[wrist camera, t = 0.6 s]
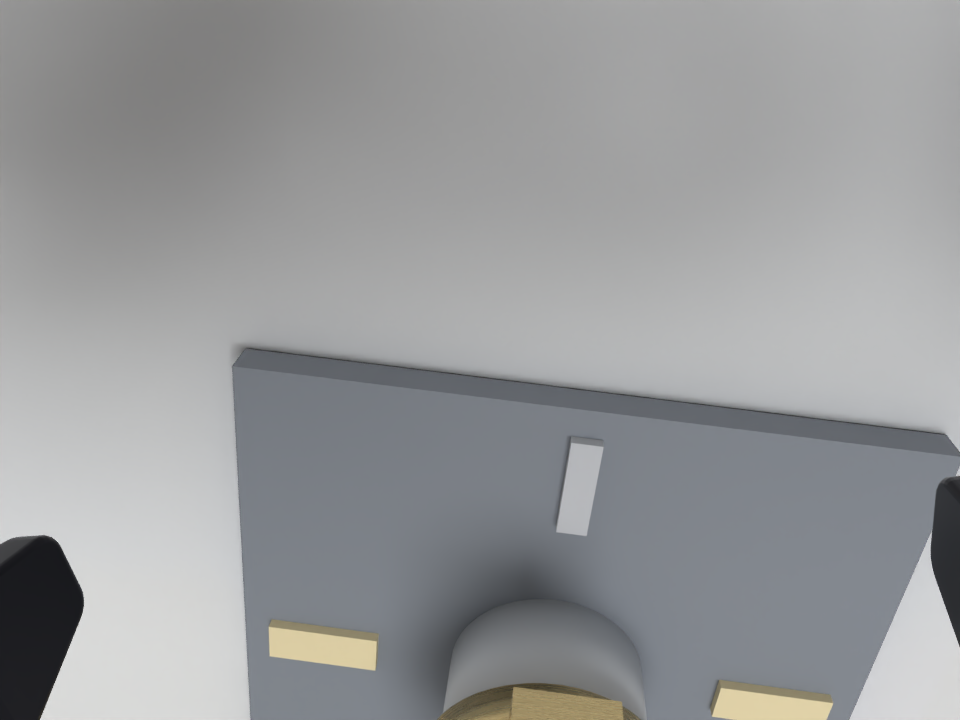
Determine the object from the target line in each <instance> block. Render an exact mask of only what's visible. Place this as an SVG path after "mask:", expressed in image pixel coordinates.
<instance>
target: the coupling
mask: <svg viewBox="0 0 960 720" xmlns="http://www.w3.org/2000/svg"><path fill="white" fill-rule="evenodd" d="M437 720H641V719H640V718H639V717H638V716H636V715H635V714H634V713H632V712H631V711H629V710H628V709H626V708H625V707H623V706H622V702H621V701H614V700H610V699H608V698H606V697H603V696H601V695H598V694H596V693H593V692H590V691H586V690H583V689H579V688H575V687H570V686H564V685H558V684H547V683H522V684H512V685H505V686H500V687H495V688H491V689H488V690H485V691H482V692H478V693H476V694H474V695H471V696H469V697H467V698H465V699H463V700H461V701H459V702H458V703H456V704H454V705H453V706H451V707H450V708H449V709H448V710H446V711H445V712H444V713H443V714H442V715H441V716H440V717H439V718H438V719H437Z"/></svg>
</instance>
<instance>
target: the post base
mask: <svg viewBox="0 0 960 720" xmlns="http://www.w3.org/2000/svg"><path fill="white" fill-rule="evenodd" d="M232 372H233V391H234V410H235V429H236V448H237V467H238V487H239V506H240V525H241V544H242V563H243V582H244V602H245V621H246V640H247V659H248V678H249V697H250V716H251V720H437V719H438V718H439V717H440V716H441V715H442V714H443V713H444V712H445V711H446V710H448V709H449V708H450V707H451V706H453V705H454V704H456V703H458V702H459V701H461V700H463V699H465V698H467V697H469V696H471V695H474V694H476V693H478V692H482V691H485V690H488V689H491V688H495V687H500V686H505V685H512V684H522V683H547V684H558V685H564V686H570V687H575V688H579V689H583V690H586V691H590V692H593V693H596V694H598V695H601V696H603V697H606V698H608V699H610V700H614V701H621V702H622V706H623V707H625V708H626V709H628V710H629V711H631V712H632V713H634V714H635V715H636V716H638V717H639V718H640V719H641V720H849V719H850V717H851V714H852V712H853V710H854V707H855V705H856V703H857V701H858V698H859V696H860V694H861V691H862V689H863V687H864V684H865V682H866V680H867V678H868V675H869V673H870V671H871V668H872V666H873V664H874V661H875V659H876V657H877V655H878V652H879V650H880V648H881V645H882V643H883V641H884V639H885V636H886V634H887V632H888V629H889V627H890V625H891V622H892V620H893V618H894V616H895V613H896V611H897V609H898V606H899V604H900V602H901V600H902V597H903V595H904V593H905V590H906V588H907V586H908V583H909V581H910V579H911V577H912V574H913V572H914V570H915V567H916V565H917V563H918V561H919V558H920V556H921V554H922V551H923V549H924V547H925V544H926V542H927V540H928V538H929V535H930V533H931V531H932V528H933V517H934V507H935V496H936V489H937V487H938V484H939V482H940V481H941V480H943V479H944V478H945V477H953V476H956V473H957V471H958V469H959V466H960V452H959V451H958V449H957V448H956V447H955V445H954V444H953V443H952V442H951V440H950V439H949V438H948V436H947V435H942V434H934V433H926V432H918V431H910V430H902V429H893V428H885V427H877V426H869V425H861V424H853V423H845V422H837V421H829V420H821V419H812V418H804V417H796V416H788V415H780V414H772V413H764V412H756V411H748V410H740V409H732V408H723V407H715V406H707V405H699V404H691V403H683V402H675V401H667V400H659V399H651V398H642V397H634V396H626V395H618V394H610V393H602V392H594V391H586V390H578V389H570V388H561V387H553V386H545V385H537V384H529V383H521V382H513V381H505V380H497V379H489V378H481V377H472V376H464V375H456V374H448V373H440V372H432V371H424V370H416V369H408V368H400V367H391V366H383V365H375V364H367V363H359V362H351V361H343V360H335V359H327V358H319V357H311V356H302V355H294V354H286V353H278V352H270V351H262V350H254V349H245V350H244V351H243V353H242V354H241V355H240V357H239V358H238V359H237V361H236V362H235V363H234V365H233V366H232Z"/></svg>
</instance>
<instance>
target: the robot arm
mask: <svg viewBox="0 0 960 720" xmlns="http://www.w3.org/2000/svg"><path fill="white" fill-rule="evenodd" d="M931 561H932V567H933V571H934V575H935V578H936V581H937V584H938V587H939V590H940V592H941V595H942V598H943V601H944V604H945V606H946V609H947V612H948V615H949V618H950V621H951V623H952V626H953V629H954V632H955V635H956V638H957V640H958V643H959V646H960V476H953V477H945V478H944V479H943V480H941V481H940V482H939V484H938V487H937V489H936V496H935V507H934V517H933V528H932V539H931ZM83 607H84V597H83V592H82V589H81V587H80V585H79V583H78V581H77V579H76V577H75V575H74V573H73V571H72V569H71V567H70V565H69V563H68V561H67V559H66V556H65V554H64V552H63V550H62V548H61V546H60V545H59V543H58V542H57V541H56V540H54V539H53V538H52V537H49V536H45V535H41V536H25V537H16V538H12V539H10V540H7V541H5V542H4V543H2V544H0V720H40V718H41V715H42V713H43V711H44V708H45V706H46V703H47V701H48V698H49V696H50V693H51V691H52V688H53V686H54V683H55V681H56V678H57V676H58V673H59V671H60V668H61V666H62V663H63V661H64V658H65V656H66V653H67V651H68V648H69V646H70V644H71V641H72V639H73V636H74V634H75V631H76V629H77V626H78V624H79V621H80V619H81V616H82V613H83Z"/></svg>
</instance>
